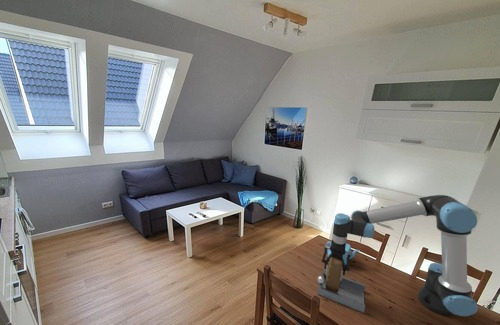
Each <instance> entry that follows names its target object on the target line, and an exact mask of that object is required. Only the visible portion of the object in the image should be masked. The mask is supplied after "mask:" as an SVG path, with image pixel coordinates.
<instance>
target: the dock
mask: <svg viewBox="0 0 500 325" xmlns="http://www.w3.org/2000/svg"><path fill="white" fill-rule="evenodd" d="M325 273H326V269H324V268H323V269H322V273H321V275H319V276H318V277H317V282H318V287H317V295H319V296H322V297H323V298H326V299H329V301H330V300H331V301H334V302H335V303H338V304H340V305H343V306H345V307H347V308H350V309H353V310H354V311H357V312H359V313H362V314H365V308H366V303H365V290H366V284H364V283H361V282H359V281H356V280H353V279H350V278H348V277H345V276H342V281H341V280H340V286H339V291H338V292H333V291H331V290H328V289H326V287H325V286H326V276H327V275H325Z"/></svg>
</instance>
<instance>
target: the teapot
mask: <svg viewBox="0 0 500 325" xmlns="http://www.w3.org/2000/svg"><path fill="white" fill-rule="evenodd" d="M329 245H330V246H331V241H327V242H326V246H327V247H330V246H329ZM345 251H346V252H347V253H350V258H349V260H351V259H354V257H355V256H356V253H358V252H361V251H360V249H354V250H353V251H352V246H351V245H350V244H349V243H347V242H346V247H345ZM351 252H352V253H351ZM330 254H331V251H330V249H329V250H328V251H327V258H328V257H329V255H330ZM343 259H344V263H345V266H347V257H346V254H344V255H343Z"/></svg>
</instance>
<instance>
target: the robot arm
mask: <svg viewBox="0 0 500 325" xmlns="http://www.w3.org/2000/svg"><path fill="white" fill-rule="evenodd" d="M418 216H419V217H420V216H424V217H429V216H430V217H431V216H432V217H436V218H435V219H436V229H437V230H438V231H439V232H440V239H441V240H440V241H441V242H440V244H441V245H440V246H441V263H439V262H432V263H429V266H428V268H427V273H426V277H425V282H424V285H423V286H422V287H421V289H419V290H418V292H417V299H418V300H419V302H420V303H421V304H422V305H423V306H424V307H426V308H427V309H428V310H430V311H431V312H433V313H436V314H439V315H442V316H453V315H456V316H459V317H469V316H471V315H475V314H476V313H477V312H478V311H479V310H478V309H479V307H478V304H477V301H476V300H475V299H473V287H472V285H471V283H470V282H468V269H467V268H468V259H467V258H468V255H467V254H468V247H467V241H468V240H467V237H468V236H469V235H471V234H472V231H473V229H475V228H476V227H477V225H478V218H477V215H476V214H475V212H474V210H472V209H471V208H470V207H469V206H467V205H466V204H464V203H461V202H460V201H459V200H457V199H456V198H454V197H452V196H450V195H446V194H445V195H444V194H434V195H428V196H423V197H418V198H416V200H413V201H408V202H403V203H399V204H393V205H389V206H384V207H380V208H375V209H370V210H365V211H362V210H359V209H358V210H357V209H356V210H354V211H352V212H351V216H349V215H348V214H345V213H337V214H335V216H334V222H333V229H332V236H331V241H330V242H331V243H330V245H331V246H329V247H327V245H325V246H324V253H323V256H322V258H321V263H324V266H323V269H326V273H325V275H327V270H328V265H329V260H330V257H333V255H334V256H337V257H339V258H340V260H342V261H343V263H342V271H341V279H340V280H341V281H342V277H343V276H346V271H347V272H350V259H349V258H350V253H347V252H346V251H345V247H346V243H347V240H348V235H354V236H358V237H361V238H367V239H373V238H374V235H375V226H374V224H378V223H385V222H389V221H394V220H395V221H396V220H399V219H406V218H411V217H418ZM329 249H330V251H331V254H330V255H329V257H328V256H327V255H328V252H327V251H328V250H329ZM344 254H346V257H347V265H345V263H344V259H343V255H344ZM326 256H327V258H326Z"/></svg>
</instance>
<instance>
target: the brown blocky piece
mask: <svg viewBox="0 0 500 325" xmlns="http://www.w3.org/2000/svg"><path fill="white" fill-rule="evenodd" d="M328 263H329V264H328V270H327V276H326V286H325V287H326V289H328V290H331V291H333V292H338V291H339V286H340V279H341V271H342V268H343V267H342V263H343V261H342V260H340V258H339V257H337V256H334V255H333V257H330V260H329V262H328Z"/></svg>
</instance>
